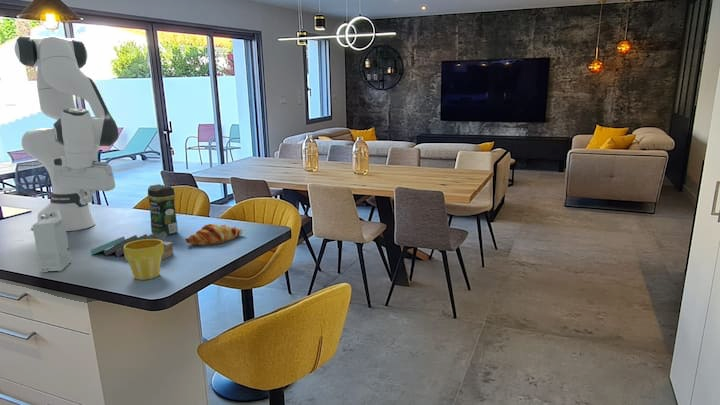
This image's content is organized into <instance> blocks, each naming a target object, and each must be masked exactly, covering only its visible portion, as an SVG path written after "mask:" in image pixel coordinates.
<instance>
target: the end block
mask: <svg viewBox="0 0 720 405" xmlns="http://www.w3.org/2000/svg"><path fill="white" fill-rule="evenodd" d="M163 245H164V253H163V254H162V257H161V261H163V260H165V259H167V258H168V257H170V256H172V255H174V248H173V242H172V241H163Z"/></svg>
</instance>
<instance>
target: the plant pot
mask: <svg viewBox="0 0 720 405" xmlns="http://www.w3.org/2000/svg"><path fill="white" fill-rule="evenodd" d="M163 242H164V241H163V240H158V239H143V240H137V241H133V242H129V243H127V244H125V245H124V247H123V248H124V254H123V255H124V259H126V260H127V262H128V264H129V267H130V269H131V273H132V275H133V277H134V279H135V280H138V281H144V280H151V279H155V278H156V277H159V275H160V270H161V262H162V260H161V257H162V254H163V253H164V245H163Z"/></svg>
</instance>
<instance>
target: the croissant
mask: <svg viewBox="0 0 720 405" xmlns="http://www.w3.org/2000/svg"><path fill="white" fill-rule="evenodd" d="M243 231H244V230H243V229H241V228H238V227H236V226H233V227H231V226H229V225H227V224H222V225H218V224H216V223H208V224H204V226H203V227H202V226H201V229H199V230H197V231H196V233H194V234H191V235H189V237H186V238H185V242H186V243H187V244H190V245H196V246H209V245H210V246H211V245H212V246H213V245H217V244H222V243H223V244H224V243H226V242H228V241H232V240H233V239H235V238H237V237H240V236H242V234H243Z"/></svg>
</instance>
